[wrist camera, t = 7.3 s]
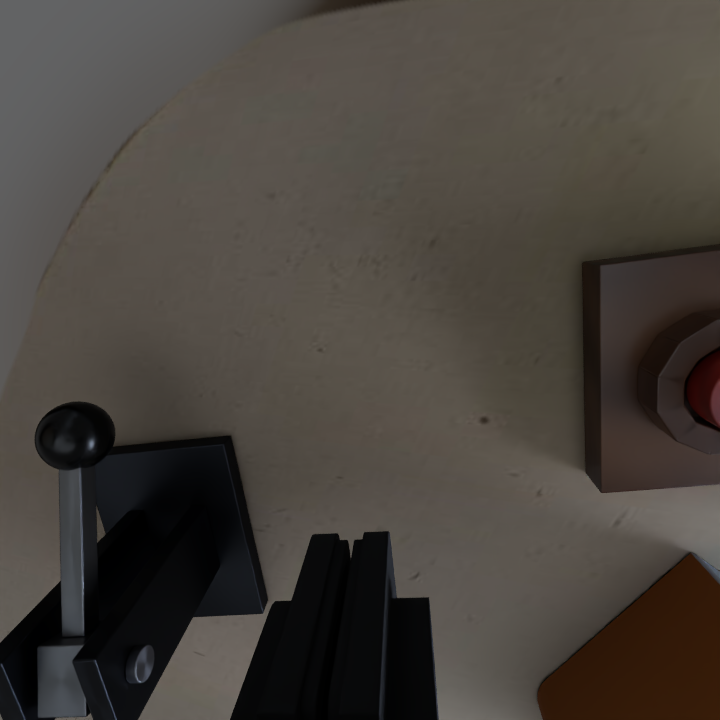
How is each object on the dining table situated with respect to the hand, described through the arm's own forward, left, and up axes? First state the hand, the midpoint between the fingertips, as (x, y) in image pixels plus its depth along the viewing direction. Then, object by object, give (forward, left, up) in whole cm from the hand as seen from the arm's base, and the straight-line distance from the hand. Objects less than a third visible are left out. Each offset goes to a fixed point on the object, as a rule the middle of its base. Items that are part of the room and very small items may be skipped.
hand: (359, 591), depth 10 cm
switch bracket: (+16, -5, -17) cm, 24 cm away
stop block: (-9, +13, -17) cm, 23 cm away
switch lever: (+13, -8, -10) cm, 18 cm away
